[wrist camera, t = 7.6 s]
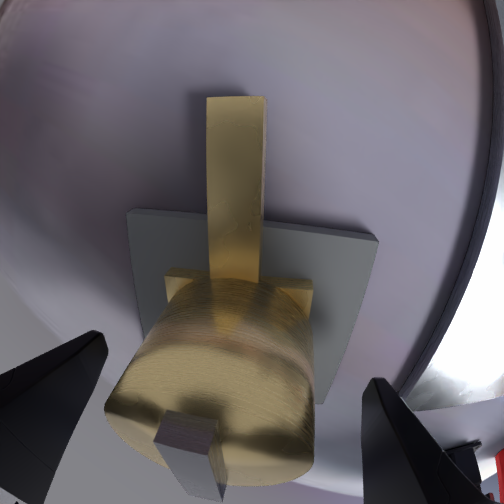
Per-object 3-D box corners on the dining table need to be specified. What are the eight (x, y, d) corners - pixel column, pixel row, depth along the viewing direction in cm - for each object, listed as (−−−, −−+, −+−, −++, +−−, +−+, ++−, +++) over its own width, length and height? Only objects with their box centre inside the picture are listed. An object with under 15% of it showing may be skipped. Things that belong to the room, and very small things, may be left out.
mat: (322, 394, 12) (322, 404, 11) (158, 367, 12) (153, 376, 12) (373, 234, 8) (378, 241, 8) (134, 208, 9) (126, 213, 9)
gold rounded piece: (302, 381, 11) (293, 512, 5) (180, 365, 11) (130, 479, 6) (339, 105, 6) (456, 50, 1) (153, 105, 7) (-27, 111, 2)
